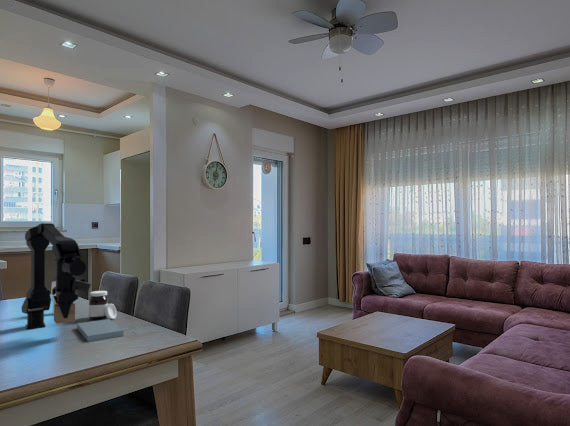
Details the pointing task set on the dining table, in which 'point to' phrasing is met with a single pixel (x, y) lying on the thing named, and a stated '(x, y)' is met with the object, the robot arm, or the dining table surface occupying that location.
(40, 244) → the robot arm
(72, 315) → the walnut cube
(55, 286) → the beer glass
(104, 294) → the spread jar
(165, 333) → the dining table surface
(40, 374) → the dining table surface
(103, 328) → the slate board
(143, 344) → the dining table surface
